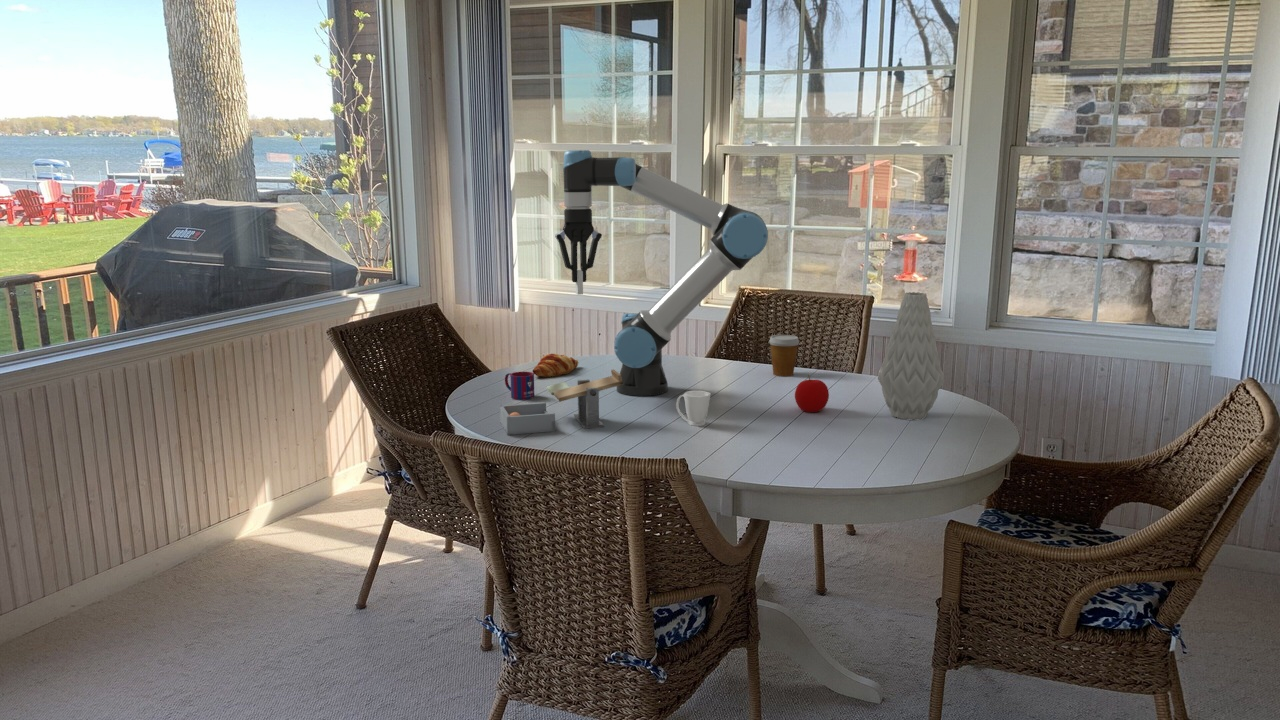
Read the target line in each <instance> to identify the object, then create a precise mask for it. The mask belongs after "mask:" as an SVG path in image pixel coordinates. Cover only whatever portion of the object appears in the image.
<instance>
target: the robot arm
mask: <svg viewBox="0 0 1280 720" xmlns="http://www.w3.org/2000/svg"><path fill="white" fill-rule="evenodd" d="M562 169H563V170H562V171H563V206H564V208H565V209H564V210H563V212H564V213H563V214H564V215H563V217H564V225H563V227H562V230H561V231H560V232H559V233H556V234H554V238H556V241H557V242H558V245H559V249H560V253H561V256H562V260H563V263H564V267H565V268H566V269H568V270H570V271H571V281H572V283H575V294H576V295H584V283H585V282H587V271H588V269H589V270H590V269H592V268H593V266H594V264H595V258H596V254H597V249H598V245H599V242H600V240H601V238H602V233H600V232H598V231H596V230H595V228H594V226H593V212H592V208H590V207H592V206H593V201H592V196H593V195H592V192H593V191H592V186H594V187H597V186H601V187H602V186H603V187H604V186H605V187H606V186H608V187H621V188H623V189H626V190H628V191H630V192H633V193H634V194H636V195H638V196H640V197H642V198H645V199H647V200H648V201H651V202H653V203H655V204H657V205H659V206H661V207H663V208H665V209H668V210H670V211H672V212H674V213H676V214H678V215H680V216H682V217H684V218H686V219H689V220H690V221H692V222H694V223H697V224H698V225H700V226H702V227H704V228H707V229H709V230H711V234H712V235H713V236H712V237H711V238H710V240H709V248H708V249H707V250H706V251H705V252H704V253H703V254H702V255H701V257H699V258H698V260H696V261H695V262H694V263H693V264H692V265H691V266H690V267H689V269H687V271H685V273H684V274H683V275H682V276H681V277H680V278H679V279H678V280H677V281H676V282H675V283H674V284H673V285H672V286H671V287H670V288H669V289H668V290H667V291H666V292H665V293H664V294H663V295H662V296H661V297H660V298H659V299H658V300H657V301H656V302H655V303H654V305H653V306H651V307H650V308H649V309H648V310H640V311H639V312H636V313H634V312H633V313H631V312H630V313H627V312H626V313H624V314H623V315H622V317H621V326H622V327H621V330H620V331H619V332H618V333H617V334H616V336H615V339H614V353H615V356H616V358H617V360H619V361H620V363H621V367H620V371H619V374H620V375H621V377H622V382H623V385H619V386H616V391H617V392H618V393H619V394H623V395H626V396H627V395H628V396H638V397H639V396H641V397H644V396H645V397H646V396H657V395H661V394H664V393H666V392H668V385H669V384H668V379H667V377H666V374H665V370H664V367H663V363H662V362H663V360H662V359H663V355H662V354H663V350H662V349H663V348H664V347H665V346H667V344H668V343H669V342H670V341H671V340H672V335H671V333H672V332H673V330H674V329H676V327H677V326H679V324H681V323H682V322H683V320H684V319H686V317H687V316H688V315H690V313H691V312H692V311H693V310H694V309H695V308H696V307H697V306H698V305H699V304H701V302H702V301H703V300H704V299H705V298H706V297H708V295H709V294H710V293H711V292H712V291H713V290H714V289H715V288H716V287H717V286H719V284H721V283H722V281H723V280H724V279H725V278H727V276H728V275H729V274H730V273H731V272H732V271H741V270H742V269H743V268H744V267H745V265H747V264H748V263H749V262H750V261H752V259H754V257H756V256H758V255H759V254H761V252H762V251H763V250H764V249H765V248H766V246H767V242H768V238H769V233H768V232H769V231H768V227H767V225H766V223H765V221H764V219H763V218H762V216H760V215H759V214H757V213H756V212H755V211H754V212H753V211H750V210H745V209H743V208H740V207H737V206H734V205H733V204H731V203H730V204H729V203H725V204H721V203H719V202H717V201H715V200H713V199H711V198H709V197H706V196H704V195H703V194H702V193H698V192H697V191H694V190H692V189H689V188H688V187H686V186H683V185H681V184H679V183H677V182H675V181H673V180H671V179H669V178H667V177H665V176H662V175H660V174H658V173H657V172H654V171H652V170H650V169H648V168H645V167H643V166H641V165H640V164H637V163H636V160H635V159H634V158H632V157H625V156H619V157H593V155H592V152H591V151H590V150H589V149H588V150H586V149H585V150H582V149H581V150H579V149H575V150H574V149H573V150H568V149H567V150H566V151H565V152H564V154H563V166H562ZM565 236H566V237H565ZM590 237H591V238H592V241H591V244H590V248H589V252H588V257H587V246H588V245H587V241H588V240H589V239H590ZM566 238H567V239H568V240H569V241H570V257H569V253H568V249H567V245H566V242H565V239H566ZM578 243H579V253H580V254H579V259H580V260H579V261H580V262H579V264H580V265H579V267H580V269H578ZM570 259H571V260H570Z"/></svg>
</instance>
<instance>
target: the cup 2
mask: <svg viewBox="0 0 1280 720" xmlns="http://www.w3.org/2000/svg"><path fill="white" fill-rule="evenodd" d="M711 394H712V393H711V392H709V391H706V390H689V391H685V392H684V393H683V394H680V395H679V396H678V397H677V399H676V401H675V402H676V403H675V407H676V411H677V413H678V415H679V416H680V417H681V418H682V419H683V421H686V422H687V423H688V425H690V426H691V427H692V426H693V427H701V426H705V425H706V419H707V415H708V412H709V407H710V406H709V405H710V400H711ZM682 397H683V399H684V404H685V405H684V407H685V412H686V416H687V417H686V416H685V415H684V414H683V413H682V410H680V405H679V404H680V400H681V399H682Z"/></svg>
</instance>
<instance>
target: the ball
mask: <svg viewBox="0 0 1280 720" xmlns="http://www.w3.org/2000/svg"><path fill="white" fill-rule="evenodd" d="M509 416H521V415H520V414H519V413H516V412H514V413H511V414H510V415H509Z"/></svg>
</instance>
